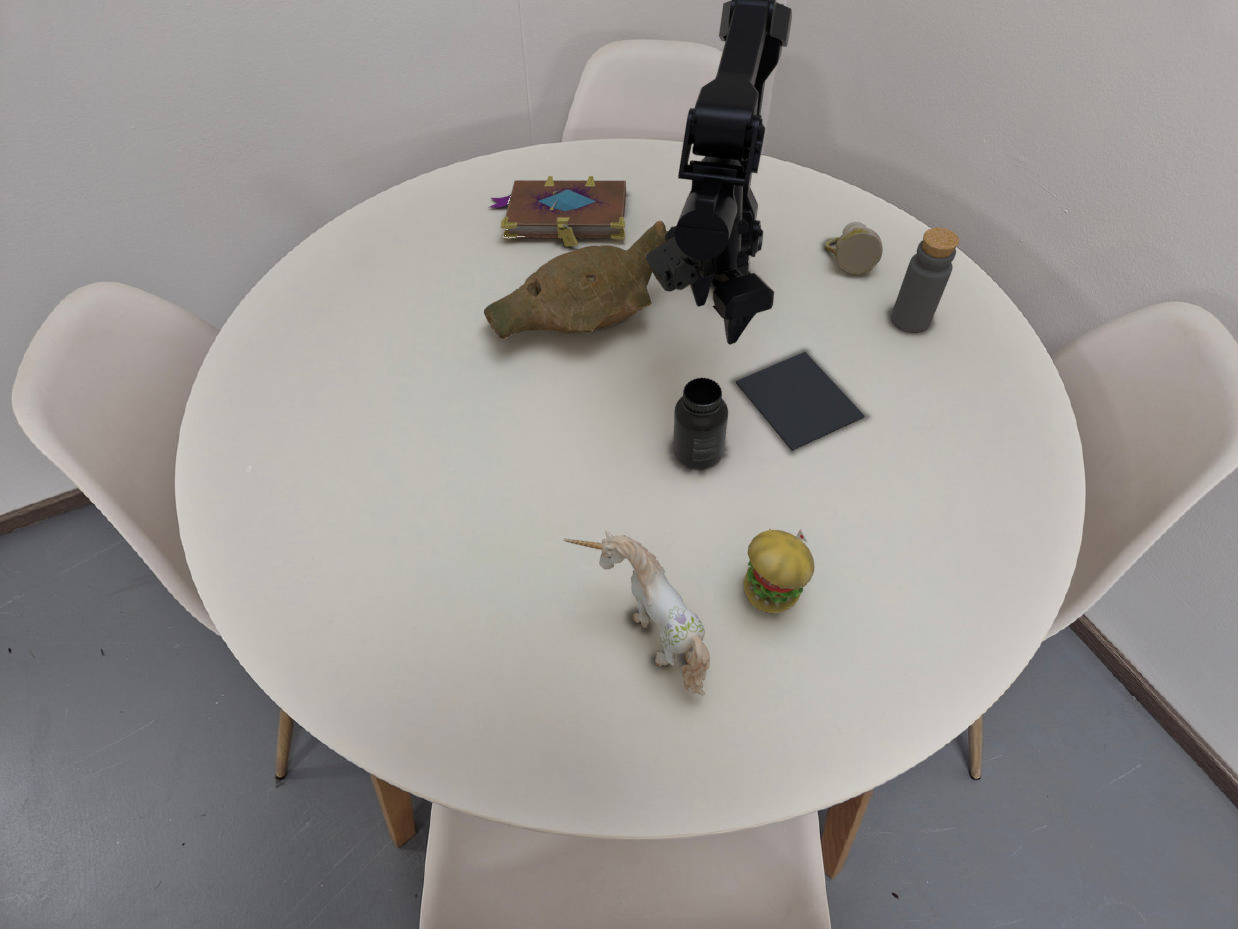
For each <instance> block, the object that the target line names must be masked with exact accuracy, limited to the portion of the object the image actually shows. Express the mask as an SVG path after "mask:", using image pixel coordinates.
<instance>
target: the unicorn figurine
mask: <svg viewBox="0 0 1238 929" xmlns="http://www.w3.org/2000/svg"><path fill="white" fill-rule="evenodd" d="M604 533H605V536H606V538H603V539H602V540H601V543H600V542H595V541H588V540H579V539H574V538H573V539H571V538H563V539H562V540H563V542H565V543H568V544H573V545H577V546H581V547H585V548H590V549H595V550H600V551H601V553H600V556H599V560H598V564H599V567H601V568H602V569H603V570H611V569H613V568H615V564H617V565H618V564H621V563H622V562H623V561H624V560H627V561H628V562H629V563H630V565H631V567H632V569H633V571H632V574H631V576H630V587H631V588H630V590H631V594H632V596H633V597H634V598H635V601H636V607H637V610H638V612H634V613H633V615H632V619H633V621H634V622H635V623H636V624H639V623H641V626H642V628H644V629H648V626H649V623H650V620H652V621H653V622H654V623H655V624H656V625H657V626H658V627H660V633H659V637H660V642H661V643H662V645H663V651H661V650H658V651H657V652H656V655H655V660H654V663H655V665H656V666H657V667H662V666H668V665H671V666H672V667H675V666H676V664H677V663H676V654H679V655H680V654H683V657H684V660H685V662H686V664H683V665H682V667H681V671H682V678H683V688H684V689H685V691H686V692H689V691H690V689H691V691H692V693H694V694H698V695H699V696H702V697H703V696H705V695H706V691H704V690H703V688H704V683H703V681H705V680H706V677H707V676H706V673H707V671H708V669H709V668H710V661H711V655H710V650H709V648H708V647H707V645H706V644H705V643H704V642H703V641H704V638H705V634H706V632H705V631H706V630H705V626H704V624H703V622H702V620H701V619H700V618H699V616H698V615H697V614H696V613H695V612H694V611H692V610H691V609H689V608H688V607H687V605H686V603H685V601H684V599H683V597H682V596H681V595H680V593H679V592H678V591H677V590H676V588H675V587H674V586H673V585H672V584H671V583H670V582H669V580H668V577H667V576H666V575H665V573H666V570H665V569H664V567H663V566H662V565H661V564H660V561H659V560H658V559H657V556H656V555H655V554H654V553H653V552H651V551H649V549H648V548H647V547H646V546H644V545H642V543H641V542H639V541H637V540H634V539H633V538H632V537H629V536H627V535H626V534H621V535H613V534H612V533H611V532H610V531H609V530H607V529H606V530H605V532H604ZM690 650H691V651H690Z"/></svg>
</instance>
